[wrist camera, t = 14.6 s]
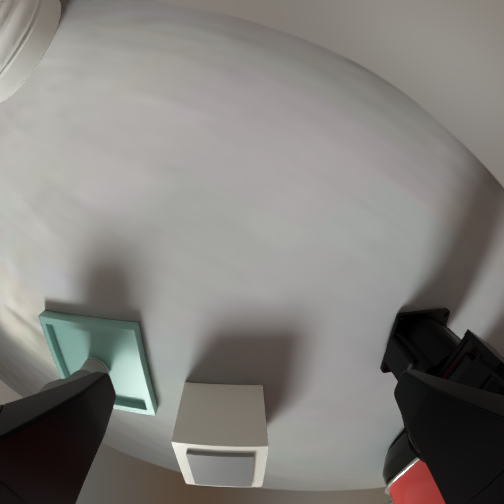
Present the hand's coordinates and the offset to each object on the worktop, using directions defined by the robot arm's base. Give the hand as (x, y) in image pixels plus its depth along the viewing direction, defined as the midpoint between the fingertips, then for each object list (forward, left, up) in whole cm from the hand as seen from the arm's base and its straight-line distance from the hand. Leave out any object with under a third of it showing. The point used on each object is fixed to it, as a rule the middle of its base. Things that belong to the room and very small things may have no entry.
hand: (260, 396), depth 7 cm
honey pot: (+24, -21, -13) cm, 34 cm away
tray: (+14, +11, -13) cm, 22 cm away
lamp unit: (+2, +16, -13) cm, 21 cm away
